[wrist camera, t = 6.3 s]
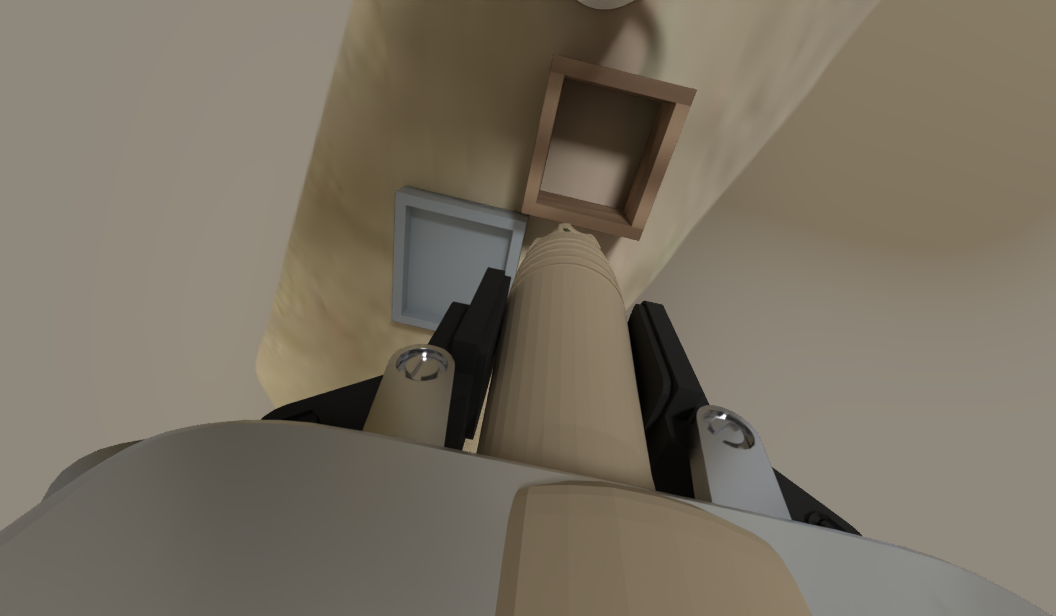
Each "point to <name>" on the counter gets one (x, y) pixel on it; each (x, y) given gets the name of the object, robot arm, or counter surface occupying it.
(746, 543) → the handle
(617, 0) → the mug
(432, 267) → the tray
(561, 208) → the holder
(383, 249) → the counter surface
